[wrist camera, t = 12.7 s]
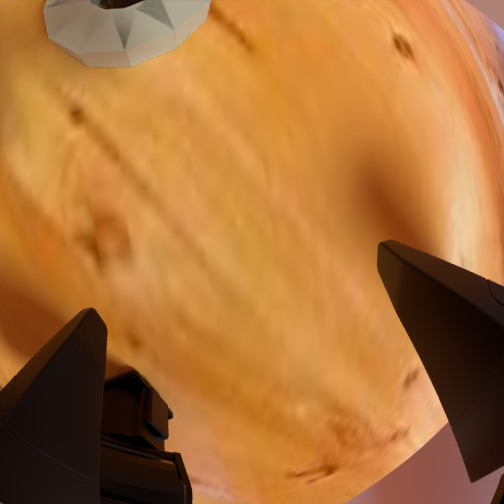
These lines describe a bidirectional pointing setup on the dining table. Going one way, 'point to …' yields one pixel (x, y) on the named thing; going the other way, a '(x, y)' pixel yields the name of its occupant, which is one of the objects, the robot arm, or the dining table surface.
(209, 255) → the dining table surface
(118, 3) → the metal peg
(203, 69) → the dining table surface
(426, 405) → the dining table surface
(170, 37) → the grey ring
